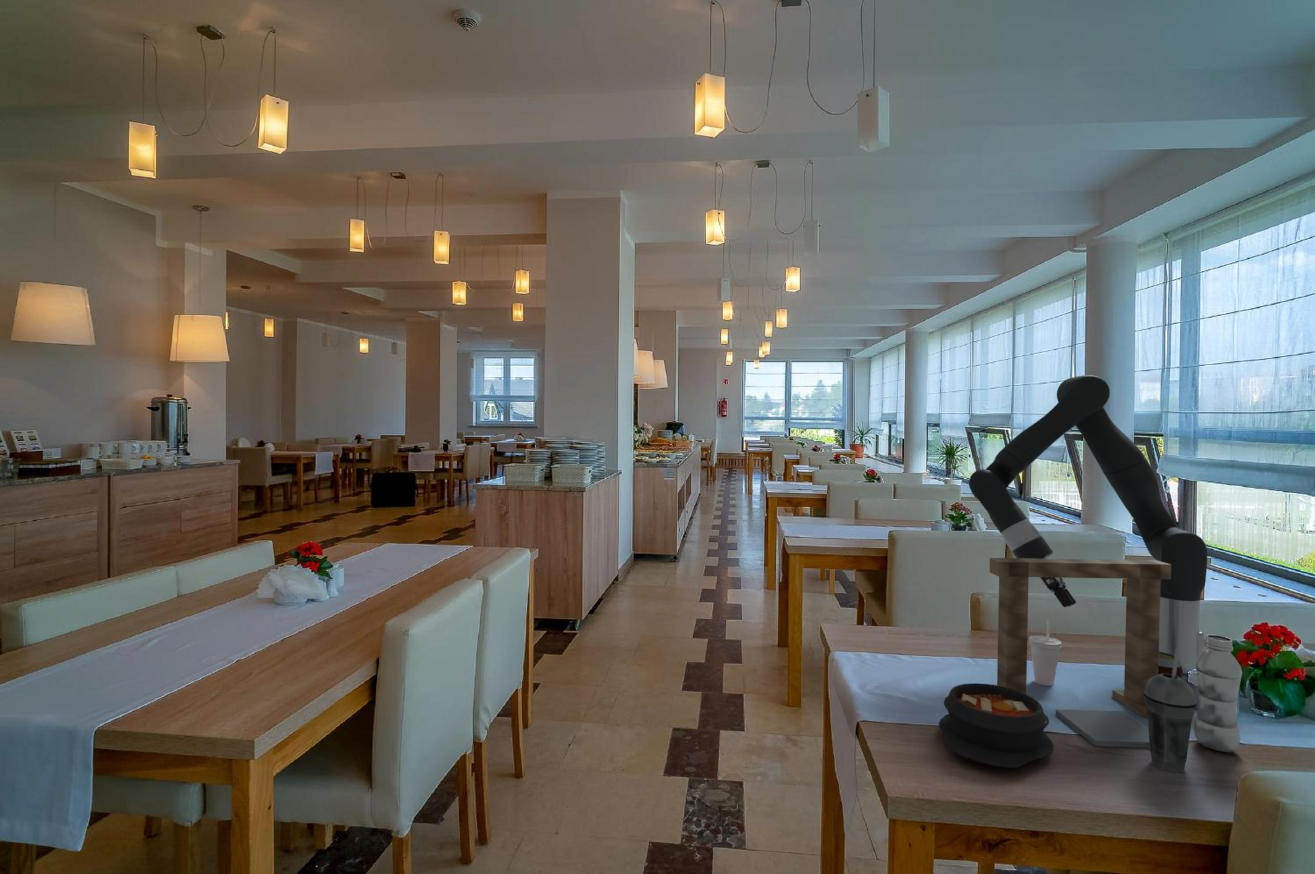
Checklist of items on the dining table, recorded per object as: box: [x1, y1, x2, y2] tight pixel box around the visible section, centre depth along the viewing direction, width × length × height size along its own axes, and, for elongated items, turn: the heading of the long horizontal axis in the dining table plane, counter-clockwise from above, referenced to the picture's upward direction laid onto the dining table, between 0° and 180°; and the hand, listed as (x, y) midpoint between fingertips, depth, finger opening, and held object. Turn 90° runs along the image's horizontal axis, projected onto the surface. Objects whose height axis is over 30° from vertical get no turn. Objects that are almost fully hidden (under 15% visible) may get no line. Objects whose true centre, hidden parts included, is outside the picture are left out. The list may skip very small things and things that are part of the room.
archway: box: [989, 557, 1171, 719], centre depth 136 cm, size 34×10×30 cm, turn 87°
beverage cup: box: [1143, 649, 1198, 773], centre depth 113 cm, size 7×7×20 cm
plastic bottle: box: [1192, 634, 1243, 753], centre depth 119 cm, size 6×7×20 cm
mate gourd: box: [1158, 637, 1184, 679], centre depth 143 cm, size 8×8×15 cm
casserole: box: [938, 682, 1055, 769], centre depth 120 cm, size 25×19×8 cm
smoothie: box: [1028, 620, 1062, 687], centre depth 148 cm, size 6×6×14 cm
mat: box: [1055, 708, 1150, 749], centre depth 126 cm, size 13×13×1 cm
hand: (1070, 605), depth 151 cm, fingers open, 8 cm apart
